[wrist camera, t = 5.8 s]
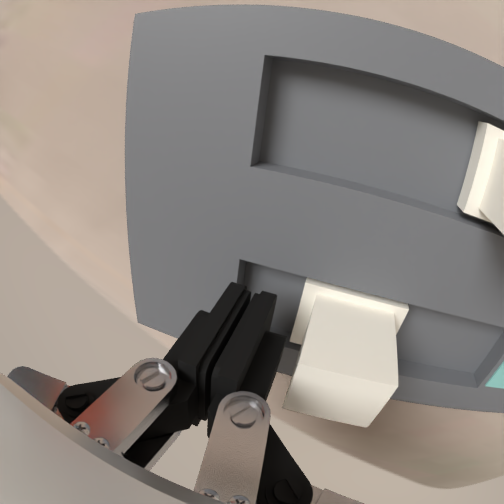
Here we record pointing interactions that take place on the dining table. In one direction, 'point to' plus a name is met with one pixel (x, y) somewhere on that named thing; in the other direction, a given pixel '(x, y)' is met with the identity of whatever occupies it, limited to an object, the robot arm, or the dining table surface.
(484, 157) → the tab
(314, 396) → the tab
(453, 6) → the dining table surface
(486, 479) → the dining table surface
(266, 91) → the switch panel
